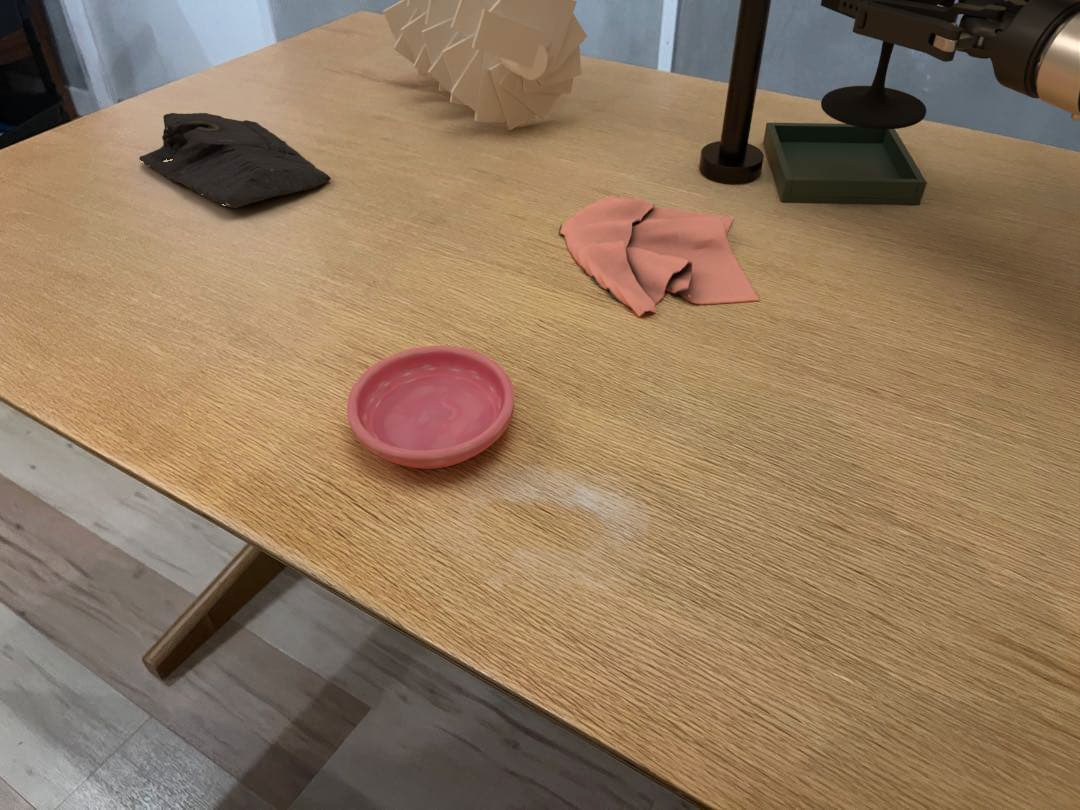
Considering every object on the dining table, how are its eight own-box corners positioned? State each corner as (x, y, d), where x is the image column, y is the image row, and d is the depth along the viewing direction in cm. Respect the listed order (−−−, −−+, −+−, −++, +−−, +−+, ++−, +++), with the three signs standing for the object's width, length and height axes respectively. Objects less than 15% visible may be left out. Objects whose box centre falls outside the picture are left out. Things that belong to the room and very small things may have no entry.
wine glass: (947, 110, 84) (1017, -119, 70) (885, 139, 79) (948, -100, 66) (860, 81, 90) (910, -134, 77) (799, 107, 85) (840, -117, 72)
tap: (787, 157, 96) (858, -201, 73) (796, 185, 91) (877, -191, 68) (696, 156, 97) (740, -200, 74) (701, 183, 92) (749, -190, 69)
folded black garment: (214, 231, 85) (201, 189, 82) (134, 161, 98) (120, 122, 94) (342, 184, 93) (334, 144, 89) (253, 124, 105) (243, 87, 102)
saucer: (534, 464, 60) (534, 433, 58) (364, 502, 57) (357, 471, 55) (493, 361, 69) (491, 331, 67) (344, 391, 66) (337, 360, 64)
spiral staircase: (476, 97, 121) (567, 152, 104) (366, 65, 110) (448, 121, 93) (516, -35, 113) (621, 1, 97) (402, -84, 103) (498, -52, 86)
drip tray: (886, 145, 98) (892, 124, 97) (919, 204, 88) (927, 182, 86) (762, 143, 99) (766, 122, 97) (780, 202, 88) (785, 179, 87)
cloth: (595, 189, 91) (596, 169, 89) (793, 232, 84) (798, 211, 82) (510, 283, 77) (509, 261, 76) (737, 344, 70) (741, 321, 69)
